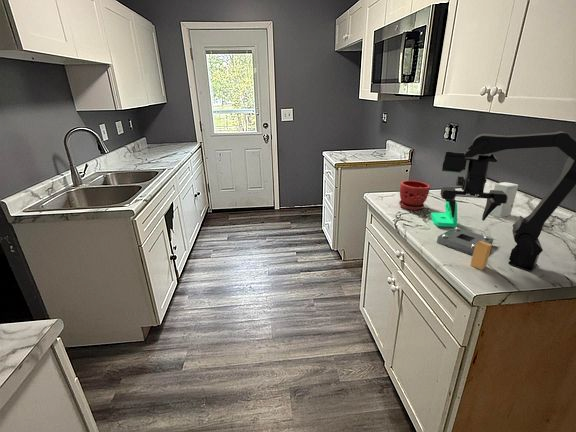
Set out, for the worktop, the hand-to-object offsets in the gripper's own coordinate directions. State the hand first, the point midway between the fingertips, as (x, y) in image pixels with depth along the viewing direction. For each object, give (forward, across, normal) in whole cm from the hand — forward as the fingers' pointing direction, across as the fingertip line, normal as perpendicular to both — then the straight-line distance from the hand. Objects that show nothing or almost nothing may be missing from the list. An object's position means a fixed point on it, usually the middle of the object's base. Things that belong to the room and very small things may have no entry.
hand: (467, 218), depth 107 cm
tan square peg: (+13, -4, +9) cm, 16 cm away
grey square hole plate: (+13, -2, -8) cm, 15 cm away
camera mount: (+13, +4, -26) cm, 30 cm away
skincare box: (+13, -22, -46) cm, 53 cm away
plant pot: (+12, +16, -43) cm, 48 cm away
